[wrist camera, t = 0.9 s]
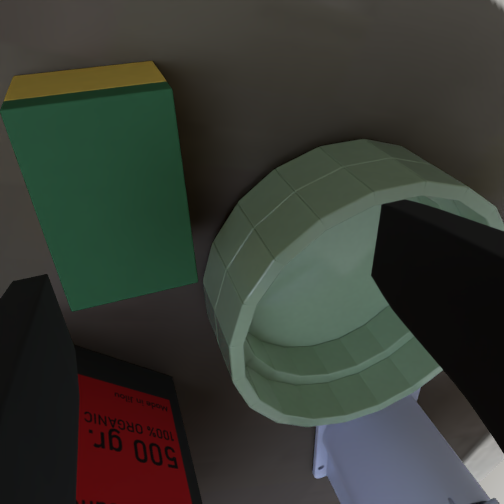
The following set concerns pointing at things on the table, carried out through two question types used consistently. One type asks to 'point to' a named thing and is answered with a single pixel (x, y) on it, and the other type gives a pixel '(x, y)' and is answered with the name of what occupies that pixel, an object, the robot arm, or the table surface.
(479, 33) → the table surface
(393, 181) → the bowl
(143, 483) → the cleaning product box
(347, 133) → the table surface
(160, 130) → the sponge
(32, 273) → the table surface
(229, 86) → the table surface
